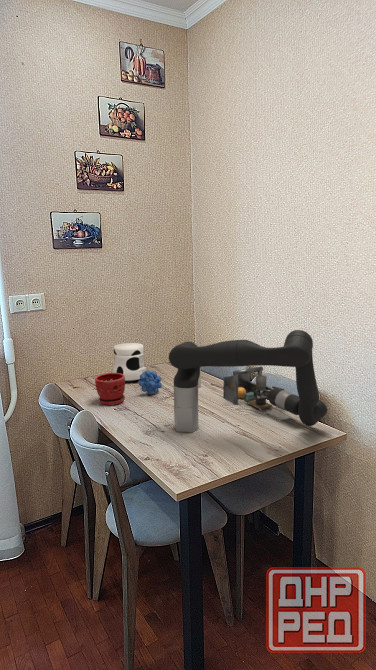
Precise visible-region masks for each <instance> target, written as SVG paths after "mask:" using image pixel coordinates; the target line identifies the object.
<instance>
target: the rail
mask: <svg viewBox="0 0 376 670" xmlns="http://www.w3.org/2000/svg"><path fill="white" fill-rule="evenodd" d="M259 411H260V412H261V413H264V414H265V415H267V414H268V416H269V415H270V417H271V416H272V418H273V417H274V419H275V418H276V420H277V419H278V420H277V421H279V420H280V422H281V421H282V422H285V421H284V420H286V421H289V420H288V419H290V420H292V417H291V416H289V415H286V414H284V413H282V412H281V411H279V410H276V409H274V408H273V407H270V408H266V409H262V410H261V409H259Z"/></svg>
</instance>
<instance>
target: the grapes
mask: <svg viewBox="0 0 376 670" xmlns="http://www.w3.org/2000/svg"><path fill="white" fill-rule="evenodd" d="M140 379H141V380H138V381H137V382H138V385H139V386H140V390H141V392H143V393H147V395H149V396H151V395H153V394H158V393H159V389H161V388H162V387H163V384H162V382H161V381H162V377H161V376H160V375H158V374H157V372H156V371H154V370H152V371H150V370H148V369H146V371H145V374H141V375H140Z"/></svg>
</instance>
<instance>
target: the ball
mask: <svg viewBox="0 0 376 670" xmlns="http://www.w3.org/2000/svg"><path fill="white" fill-rule="evenodd" d="M244 393H246V390H245V389H244V388H243V387H238V399H244Z"/></svg>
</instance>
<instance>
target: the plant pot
mask: <svg viewBox="0 0 376 670" xmlns="http://www.w3.org/2000/svg"><path fill="white" fill-rule="evenodd" d="M116 379H117V380H116ZM94 381H95V382H94V384H95V389H96V392H97V395H98V397H99V398H98V402H99V403H100V404H102V405H105V406H106V405H107V406H114V405H118V404H120V403H123V402H124V401H125V399H126V396H125V395H124V393H125V388H126V382H125V376H124V375H123V374H121V373H113V372H107V373H103V374H99V375H97V376H96V377H95V378H94Z"/></svg>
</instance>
